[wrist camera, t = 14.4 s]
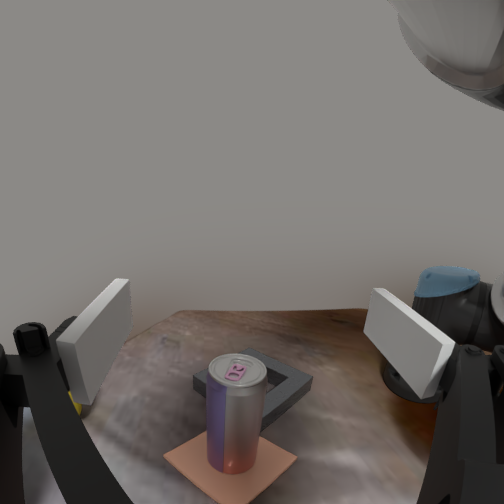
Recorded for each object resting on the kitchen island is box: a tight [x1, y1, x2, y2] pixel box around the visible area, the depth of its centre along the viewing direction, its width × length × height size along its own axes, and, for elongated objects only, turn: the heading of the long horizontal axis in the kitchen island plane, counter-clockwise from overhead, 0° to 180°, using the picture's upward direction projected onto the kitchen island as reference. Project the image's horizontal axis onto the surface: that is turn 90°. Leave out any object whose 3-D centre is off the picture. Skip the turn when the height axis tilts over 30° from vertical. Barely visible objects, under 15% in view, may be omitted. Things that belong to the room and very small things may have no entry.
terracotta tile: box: [163, 430, 297, 504], centre depth 30 cm, size 12×12×1 cm
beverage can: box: [206, 354, 268, 475], centre depth 29 cm, size 6×6×15 cm
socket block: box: [193, 348, 313, 432], centre depth 46 cm, size 14×14×3 cm
